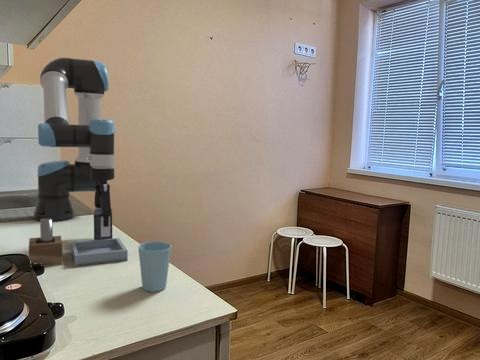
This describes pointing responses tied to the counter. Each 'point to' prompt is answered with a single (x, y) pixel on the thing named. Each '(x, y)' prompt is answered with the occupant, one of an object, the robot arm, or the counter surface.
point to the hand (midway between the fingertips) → (102, 231)
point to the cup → (154, 265)
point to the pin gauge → (46, 230)
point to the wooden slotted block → (45, 251)
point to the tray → (98, 251)
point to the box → (98, 225)
